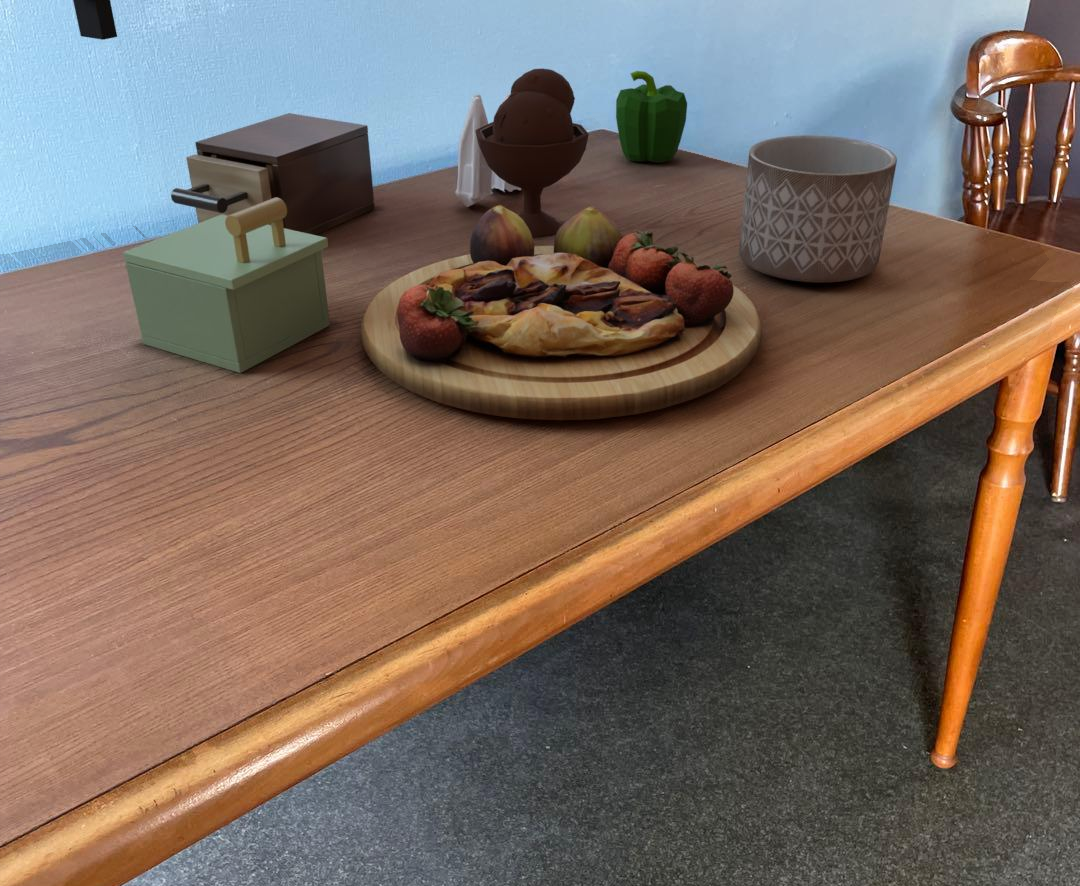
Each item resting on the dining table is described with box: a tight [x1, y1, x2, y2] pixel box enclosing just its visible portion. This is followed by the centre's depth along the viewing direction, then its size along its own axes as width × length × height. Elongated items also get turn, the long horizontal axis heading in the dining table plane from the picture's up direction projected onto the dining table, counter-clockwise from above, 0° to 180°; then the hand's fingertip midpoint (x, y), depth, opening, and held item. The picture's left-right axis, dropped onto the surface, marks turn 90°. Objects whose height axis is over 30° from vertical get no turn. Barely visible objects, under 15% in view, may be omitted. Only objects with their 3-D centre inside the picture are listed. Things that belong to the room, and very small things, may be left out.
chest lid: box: [122, 197, 329, 290], centre depth 84 cm, size 11×11×4 cm
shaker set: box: [454, 93, 522, 208], centre depth 116 cm, size 12×4×11 cm, turn 152°
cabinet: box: [194, 112, 376, 236], centre depth 111 cm, size 14×11×9 cm
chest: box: [124, 250, 331, 374], centre depth 87 cm, size 11×11×7 cm
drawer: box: [170, 153, 277, 225], centre depth 108 cm, size 17×9×7 cm, turn 149°
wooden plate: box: [360, 204, 762, 421], centre depth 86 cm, size 32×32×8 cm
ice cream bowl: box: [475, 68, 590, 238], centre depth 107 cm, size 11×11×15 cm
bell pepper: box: [615, 70, 688, 163], centre depth 129 cm, size 8×8×10 cm
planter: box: [738, 134, 898, 284], centre depth 98 cm, size 13×13×10 cm
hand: (98, 36), depth 91 cm, fingers closed
